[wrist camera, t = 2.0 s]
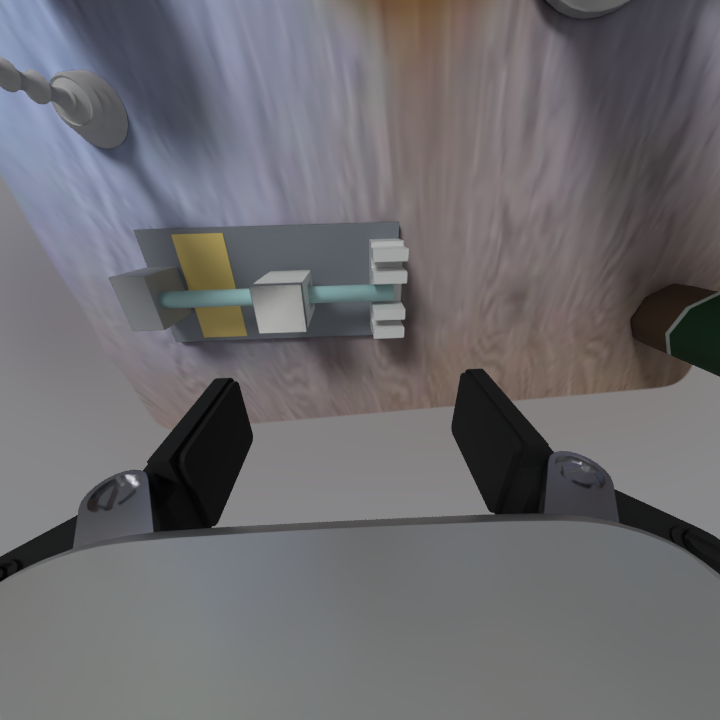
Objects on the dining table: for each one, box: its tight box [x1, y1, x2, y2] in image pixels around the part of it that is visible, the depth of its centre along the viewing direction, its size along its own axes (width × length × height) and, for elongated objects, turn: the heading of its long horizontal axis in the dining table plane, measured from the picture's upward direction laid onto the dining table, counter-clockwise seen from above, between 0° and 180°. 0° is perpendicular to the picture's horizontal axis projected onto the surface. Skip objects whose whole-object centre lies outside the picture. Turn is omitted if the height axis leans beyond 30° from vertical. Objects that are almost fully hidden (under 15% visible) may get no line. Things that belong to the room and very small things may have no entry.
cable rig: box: [109, 222, 409, 342], centre depth 27 cm, size 26×12×6 cm, turn 92°
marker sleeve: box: [249, 270, 315, 334], centre depth 25 cm, size 4×4×6 cm
